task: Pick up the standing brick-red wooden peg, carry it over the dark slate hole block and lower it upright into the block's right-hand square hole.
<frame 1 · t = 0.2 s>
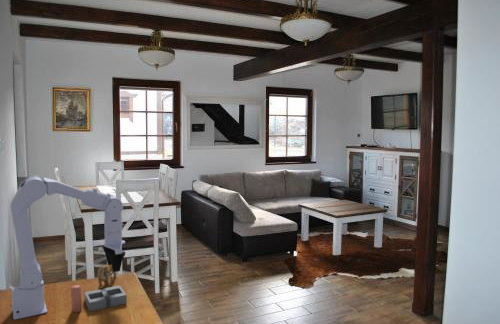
hand: (113, 267, 147), 10 cm above the table, fingers open, 7 cm apart
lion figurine: (107, 284, 157), on the table
hole block: (105, 301, 143), on the table
peg: (76, 310, 136), on the table
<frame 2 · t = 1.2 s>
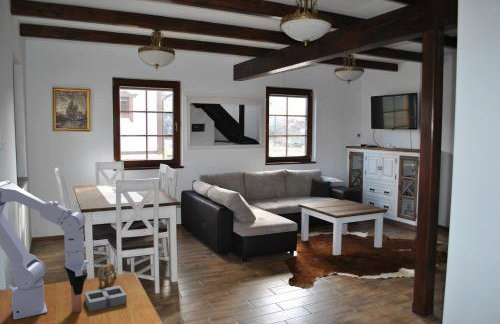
hand: (76, 289, 135), 7 cm above the table, fingers open, 7 cm apart
nothing on the table moved.
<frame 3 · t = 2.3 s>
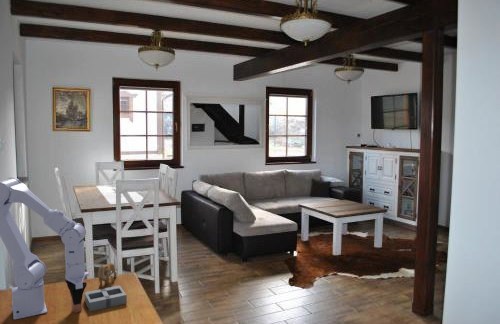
hand: (76, 301, 136), 3 cm above the table, fingers closed on peg, 3 cm apart
peg: (76, 310, 136), on the table, touching gripper
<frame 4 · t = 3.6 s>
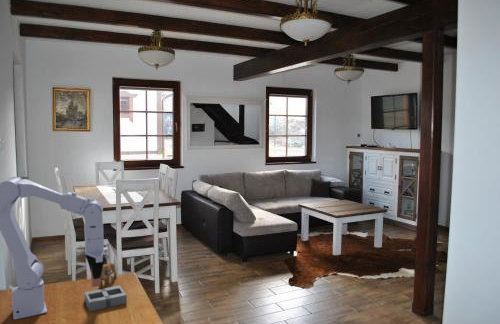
hand: (95, 276, 139), 10 cm above the table, fingers closed on peg, 3 cm apart
peg: (96, 284, 139), point 7 cm above the table, touching gripper
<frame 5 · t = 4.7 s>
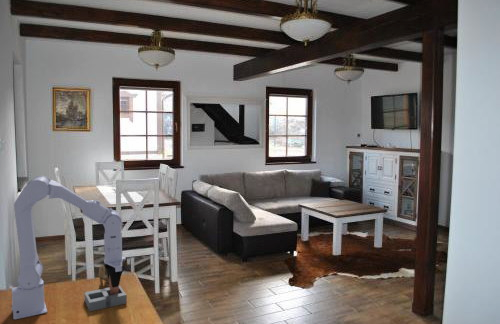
hand: (114, 284, 143), 6 cm above the table, fingers closed on peg, 3 cm apart
peg: (114, 292, 144), point 3 cm above the table, touching gripper
when the fingers open (4 cm above the table, at t = 5.3 s): peg drops 1 cm, resting in hole block.
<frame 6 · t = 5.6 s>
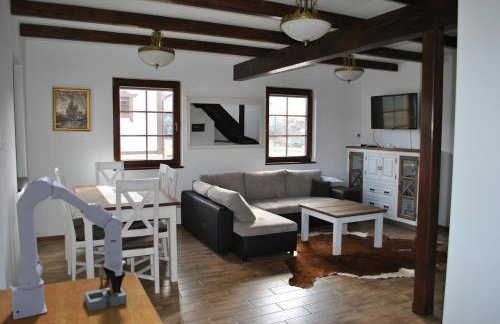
hand: (114, 288, 144), 4 cm above the table, fingers open, 6 cm apart
peg: (114, 300, 144), resting in hole block
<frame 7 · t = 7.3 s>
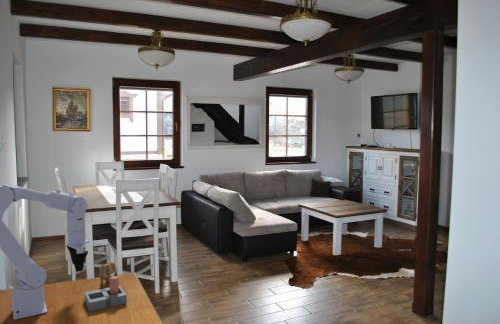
hand: (77, 267, 146), 10 cm above the table, fingers open, 7 cm apart
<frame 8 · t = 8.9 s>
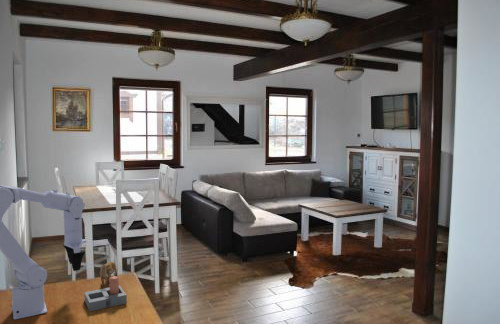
hand: (74, 266, 147), 10 cm above the table, fingers open, 7 cm apart
at the end: peg 0.0 cm from the target spot on the hole block, point 0.0 cm above the hole block's base; peg tilted 0°; the gripper is holding nothing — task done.
